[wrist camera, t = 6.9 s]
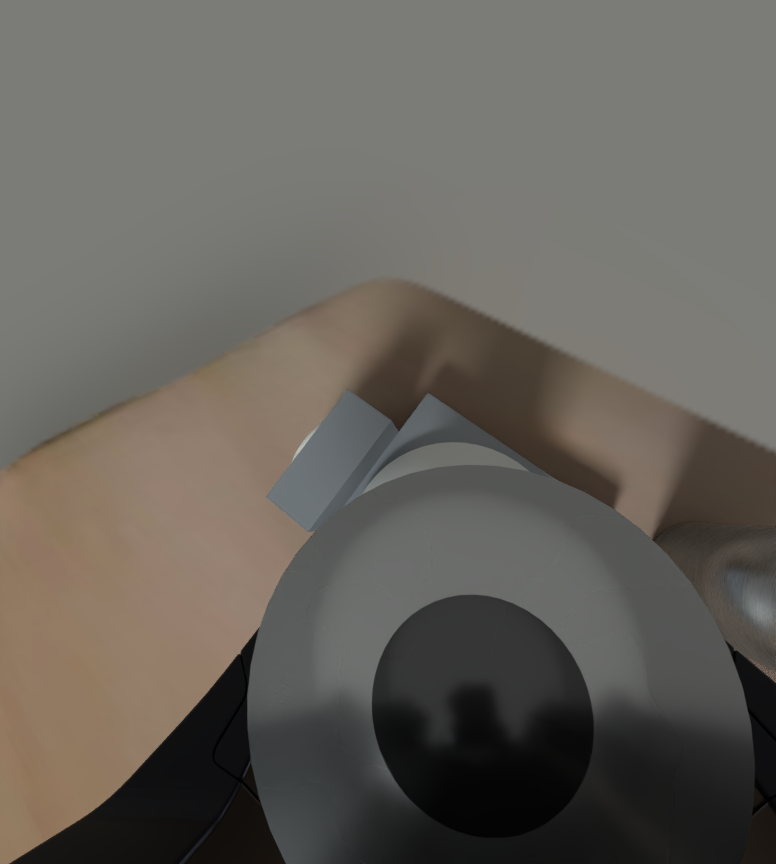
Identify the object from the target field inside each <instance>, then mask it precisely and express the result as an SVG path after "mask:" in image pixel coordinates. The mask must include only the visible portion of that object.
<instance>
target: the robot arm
mask: <svg viewBox="0 0 776 864" xmlns="http://www.w3.org/2000/svg"><path fill="white" fill-rule="evenodd" d="M259 628H260V627H259ZM259 628H258V630H257V631H256V632H255V634H254V635H253V636H252V637H251V639H250V640H249V641H248V643H247V644H246V645H245V646H244V648H243V649H242V650H241V654H238V655H237V656H236V658H235V659H234V660H233V662H232V663H231V664H230V665H229V667H228V668H227V669H226V670H225V672H224V673H223V674H222V675H221V677H220V678H219V679H218V680H217V682H216V683H215V684H214V685H213V686H212V688H211V689H210V690H209V691H208V693H207V694H206V695H205V696H204V697H203V698H202V699H201V700H200V702H199V703H198V704H197V705H196V706H195V707H194V708H193V709H192V711H191V712H190V713H189V714H188V715H187V716H186V717H185V718H184V720H183V721H182V722H181V723H180V724H179V725H178V726H177V727H176V728H175V729H174V730H173V732H172V733H171V734H170V735H169V736H168V737H167V738H166V739H165V740H164V741H163V742H162V743H161V745H160V746H159V747H158V748H157V749H156V750H155V751H154V752H153V753H152V754H151V755H150V757H149V758H148V759H147V760H146V761H145V762H144V763H143V764H142V765H141V766H140V767H139V769H138V770H137V771H136V772H135V773H134V774H133V775H132V776H131V777H130V778H129V779H128V780H127V781H126V782H125V783H124V784H123V785H122V786H121V787H120V788H119V789H118V790H117V791H116V792H115V793H114V794H113V795H112V796H111V797H110V798H108V799H107V800H106V801H105V802H104V803H102V804H101V805H100V806H99V807H97V808H96V809H95V810H93V811H92V812H91V813H89V814H88V815H86V816H85V817H83V818H82V819H80V820H79V821H77V822H76V823H74V824H72V825H71V826H69V827H67V828H66V829H64V830H63V831H61V832H59V833H58V834H56V835H55V836H53V837H51V838H50V839H48V840H47V841H45V842H43V843H42V844H40V845H39V846H37V847H35V848H34V849H32V850H31V851H29V852H27V853H26V854H24V855H22V856H21V857H19V858H18V859H16V860H14V861H13V862H11V863H10V864H286V863H285V861H284V858H283V856H282V854H281V852H280V850H279V848H278V846H277V844H276V841H275V839H274V837H273V835H272V833H271V831H270V828H269V825H268V822H267V819H266V816H265V813H264V810H263V807H262V804H261V801H260V799H259V795H258V790H257V786H256V781H255V777H254V773H253V768H252V764H251V756H250V747H249V738H248V729H247V695H248V686H249V677H250V668H251V661H252V657H253V652H254V648H255V643H256V639H257V635H258V631H259ZM724 640H725V639H724ZM725 642H726V644H727V646H728V648H729V650H730V653H731V656H732V659H733V662H734V664H735V667H736V670H737V673H738V675H739V678H740V681H741V684H742V687H743V691H744V696H745V700H746V705H747V709H748V713H749V718H750V722H751V729H752V739H753V749H754V759H755V780H754V805H753V811H752V817H751V823H750V829H749V835H748V840H747V845H746V848H745V851H744V854H743V857H742V860H741V863H740V864H776V683H775V682H774V681H773V680H772V679H771V678H769V677H768V676H767V675H766V674H765V673H763V672H762V671H761V670H760V669H759V668H757V667H756V666H755V665H754V664H753V663H752V662H750V661H749V660H748V659H747V658H746V657H745V656H744V655H742V654H741V653H740V652H739V651H737V650H735V651H734V647H733V646H732V645H731V644H729V643H728V642H727V641H726V640H725Z"/></svg>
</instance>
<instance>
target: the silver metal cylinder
mask: <svg viewBox="0 0 776 864" xmlns="http://www.w3.org/2000/svg"><path fill="white" fill-rule="evenodd" d="M247 729H248V738H249V747H250V756H251V764H252V768H253V773H254V777H255V781H256V786H257V790H258V795H259V799H260V801H261V804H262V807H263V810H264V813H265V816H266V819H267V822H268V825H269V828H270V831H271V833H272V835H273V837H274V839H275V841H276V844H277V846H278V848H279V850H280V852H281V854H282V856H283V858H284V861H285V863H286V864H740V863H741V860H742V857H743V854H744V851H745V848H746V845H747V840H748V835H749V829H750V823H751V817H752V811H753V805H754V780H755V759H754V749H753V739H752V729H751V722H750V718H749V713H748V709H747V705H746V700H745V696H744V691H743V687H742V684H741V681H740V678H739V675H738V673H737V670H736V667H735V664H734V662H733V659H732V656H731V653H730V650H729V648H728V646H727V644H726V642H725V640H724V638H723V636H722V634H721V632H720V630H719V628H718V626H717V624H716V622H715V620H714V618H713V616H712V614H711V613H710V611H709V610H708V608H707V606H706V605H705V603H704V602H703V600H702V599H701V597H700V596H699V594H698V593H697V591H696V590H695V588H694V587H693V585H692V584H691V582H690V581H689V580H688V579H687V577H686V576H685V575H684V574H683V573H682V571H681V570H680V569H679V568H678V567H677V565H676V564H675V563H674V562H673V561H672V559H671V558H670V557H669V556H668V555H667V554H666V553H665V552H664V551H663V550H662V549H661V548H660V547H659V546H658V545H657V544H656V543H655V542H654V541H653V540H652V539H651V538H650V537H649V536H647V535H646V534H645V533H644V532H643V531H642V530H641V529H640V528H638V527H637V526H636V525H634V524H633V523H632V522H630V521H629V520H628V519H626V518H625V517H624V516H622V515H621V514H620V513H618V512H617V511H616V510H614V509H613V508H611V507H609V506H608V505H606V504H604V503H603V502H601V501H599V500H597V499H596V498H594V497H592V496H591V495H589V494H587V493H585V492H583V491H581V490H578V489H576V488H574V487H572V486H569V485H567V484H565V483H562V482H560V481H558V480H555V479H552V478H549V477H545V476H542V475H539V474H535V473H532V472H529V471H524V470H518V469H512V468H506V467H501V466H489V465H457V466H446V467H437V468H432V469H428V470H423V471H419V472H414V473H410V474H407V475H404V476H402V477H399V478H396V479H393V480H391V481H388V482H385V483H383V484H381V485H379V486H377V487H375V488H373V489H371V490H370V491H368V492H366V493H364V494H362V495H360V496H358V497H357V498H356V499H354V500H353V501H351V502H350V503H348V504H347V505H346V506H344V507H343V508H341V509H340V510H338V511H337V512H336V513H335V514H334V515H333V516H331V517H330V518H329V519H328V520H327V521H326V522H325V523H324V524H323V525H322V526H320V527H319V528H318V529H317V530H316V531H315V532H314V533H313V535H312V536H311V537H310V538H309V539H308V541H307V542H306V543H305V544H304V545H303V546H302V548H301V549H300V550H299V551H298V552H297V554H296V555H295V557H294V558H293V560H292V561H291V563H290V564H289V566H288V568H287V569H286V571H285V572H284V574H283V575H282V577H281V579H280V581H279V583H278V585H277V587H276V589H275V591H274V593H273V595H272V597H271V599H270V601H269V603H268V606H267V608H266V611H265V614H264V617H263V620H262V623H261V625H260V628H259V631H258V635H257V639H256V643H255V648H254V652H253V657H252V661H251V668H250V677H249V686H248V695H247Z"/></svg>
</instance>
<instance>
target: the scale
mask: <svg viewBox="0 0 776 864" xmlns="http://www.w3.org/2000/svg"><path fill="white" fill-rule="evenodd" d="M457 465H489V466H501V467H506V468H512V469H518V470H524V471H529V472H532V473H535V474H539V475H542V476H545V477H549V478H552V479H555V478H553V477H552V476H550V475H549V474H547V473H546V472H544V471H543V470H541V469H540V468H538V467H537V466H535V465H534V464H532V463H531V462H529V461H528V460H527V459H525V458H524V457H522V456H521V455H519V454H518V453H516V452H515V451H513V450H512V449H510V448H509V447H507V446H506V445H504V444H503V443H501V442H500V441H499V440H497V439H496V438H494V437H493V436H491V435H490V434H488V433H487V432H485V431H484V430H482V429H481V428H479V427H478V426H476V425H475V424H473V423H472V422H470V421H469V420H468V419H466V418H465V417H463V416H462V415H460V414H459V413H457V412H456V411H454V410H453V409H451V408H450V407H448V406H447V405H445V404H444V403H442V402H441V401H439V400H438V399H437V398H435V397H434V396H432V395H431V394H429V393H427V395H426V396H425V397H424V399H423V400H422V401H421V403H420V404H419V405H418V407H417V408H416V409H415V411H414V412H413V413H412V415H411V416H410V417H409V419H408V420H407V421H406V423H405V424H404V426H403V427H402V428H401V430H400V431H399V432H398V430H397V428H396V427H395V425H394V424H393V422H392V421H391V420H390V419H389V418H387V417H386V416H385V415H383V414H382V413H380V412H379V411H378V410H376V409H375V408H373V407H372V406H371V405H369V404H368V403H366V402H365V401H364V400H362V399H361V398H359V397H358V396H357V395H355V394H354V393H352V392H351V391H350V390H348V389H347V390H346V392H345V393H344V394H343V396H342V397H341V398H340V400H339V401H338V402H337V404H336V405H335V406H334V408H333V409H332V410H331V412H330V413H329V414H328V415H327V417H326V418H325V419H324V420H323V421H322V422H321V423H319V424H318V425H317V426H316V427H315V428H314V429H313V430H312V431H311V432H310V433H309V434H308V436H307V437H306V438H305V439H304V441H303V442H302V444H301V445H300V447H299V448H298V450H297V452H296V453H295V455H294V458H293V460H292V463H291V464H290V465H289V467H288V468H287V469H286V471H285V472H284V473H283V475H282V476H281V477H280V479H279V480H278V481H277V483H276V484H275V485H274V487H273V488H272V489H271V490H270V492H269V493H268V494H267V496H266V497H267V498H268V499H269V500H270V501H272V502H273V503H274V504H275V505H276V506H278V507H279V508H280V509H281V510H282V511H284V512H285V513H286V514H287V515H288V516H289V517H291V518H292V519H293V520H294V521H295V522H297V523H298V524H299V525H300V526H301V527H303V528H304V529H305V530H306V531H307V532H311V531H316V530H317V529H318V528H319V527H320V526H322V525H323V524H324V523H325V522H326V521H327V520H328V519H329V518H330V517H331V516H333V515H334V514H335V513H336V512H337V511H338V510H340V509H341V508H343V507H344V506H346V505H347V504H348V503H350V502H351V501H353V500H354V499H356V498H357V497H358V496H360V495H362V494H364V493H366V492H368V491H370V490H371V489H373V488H375V487H377V486H379V485H381V484H383V483H385V482H388V481H391V480H393V479H396V478H399V477H402V476H404V475H407V474H410V473H414V472H419V471H423V470H428V469H432V468H437V467H446V466H457ZM555 480H556V479H555Z"/></svg>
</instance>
